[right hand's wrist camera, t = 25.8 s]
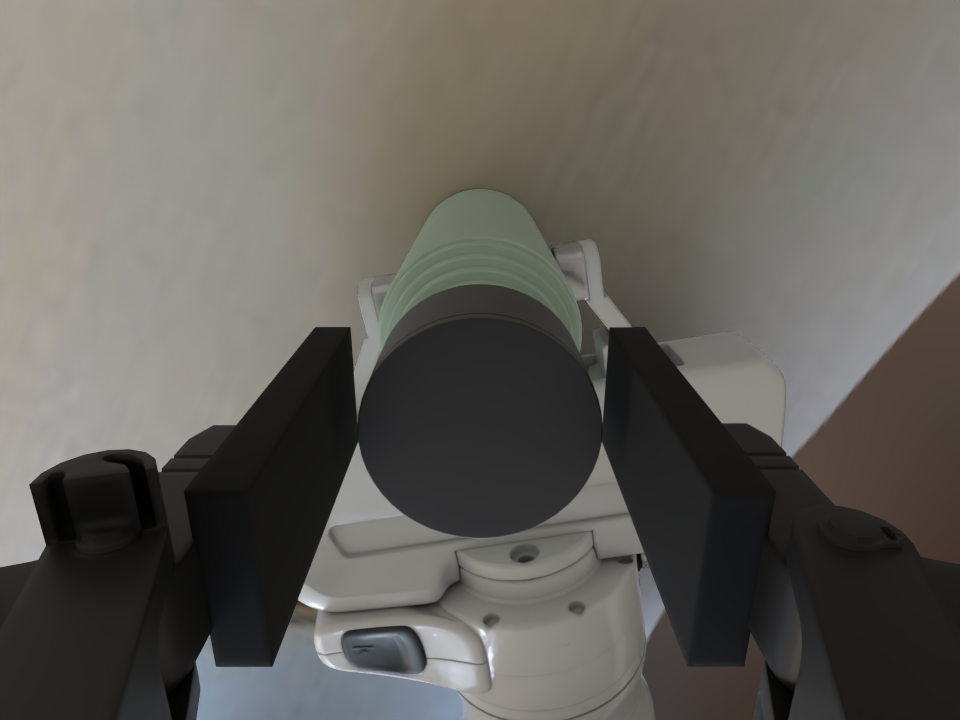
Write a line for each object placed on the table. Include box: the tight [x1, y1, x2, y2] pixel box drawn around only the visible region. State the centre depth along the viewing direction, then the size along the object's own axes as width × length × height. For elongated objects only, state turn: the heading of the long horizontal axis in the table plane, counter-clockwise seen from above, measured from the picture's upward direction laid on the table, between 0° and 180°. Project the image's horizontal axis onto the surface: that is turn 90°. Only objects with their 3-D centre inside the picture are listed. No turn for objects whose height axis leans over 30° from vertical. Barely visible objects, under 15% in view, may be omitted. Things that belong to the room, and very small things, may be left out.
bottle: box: [378, 189, 582, 353], centre depth 21 cm, size 6×6×17 cm
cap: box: [357, 284, 603, 538], centre depth 13 cm, size 4×4×2 cm
